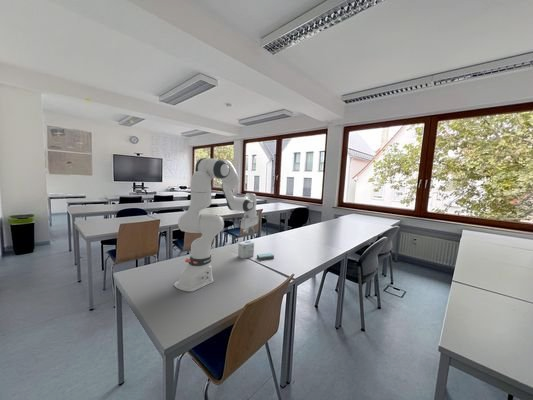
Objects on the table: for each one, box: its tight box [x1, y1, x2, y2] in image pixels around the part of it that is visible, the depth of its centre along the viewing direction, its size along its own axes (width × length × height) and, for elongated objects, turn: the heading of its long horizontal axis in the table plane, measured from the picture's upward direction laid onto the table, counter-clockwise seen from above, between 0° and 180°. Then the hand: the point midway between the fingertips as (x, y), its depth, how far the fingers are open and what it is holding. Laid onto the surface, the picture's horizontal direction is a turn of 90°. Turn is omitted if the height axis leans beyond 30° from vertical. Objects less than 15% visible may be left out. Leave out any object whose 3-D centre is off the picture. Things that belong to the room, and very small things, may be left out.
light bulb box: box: [237, 240, 255, 259], centre depth 172 cm, size 11×7×11 cm, turn 130°
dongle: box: [242, 227, 255, 236], centre depth 168 cm, size 8×4×4 cm, turn 64°
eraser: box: [256, 252, 275, 261], centre depth 169 cm, size 12×5×3 cm, turn 115°
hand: (249, 232), depth 168 cm, fingers closed on dongle, 3 cm apart
